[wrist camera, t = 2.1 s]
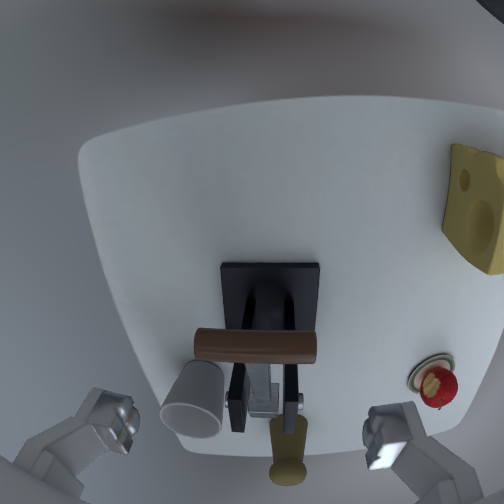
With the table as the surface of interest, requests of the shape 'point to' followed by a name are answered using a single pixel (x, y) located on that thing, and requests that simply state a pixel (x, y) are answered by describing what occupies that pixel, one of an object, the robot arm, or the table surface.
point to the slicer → (268, 323)
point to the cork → (288, 452)
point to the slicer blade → (257, 358)
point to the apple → (435, 381)
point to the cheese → (476, 208)
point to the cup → (195, 401)
